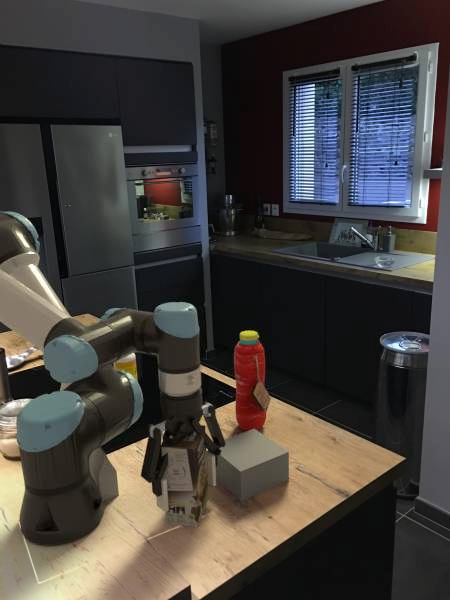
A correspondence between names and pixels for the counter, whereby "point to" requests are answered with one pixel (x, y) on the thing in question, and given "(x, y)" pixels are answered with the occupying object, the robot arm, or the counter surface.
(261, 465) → the riser block
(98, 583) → the counter surface
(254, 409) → the water bottle
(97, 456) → the white carton
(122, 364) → the supplement bottle
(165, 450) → the coffee box
